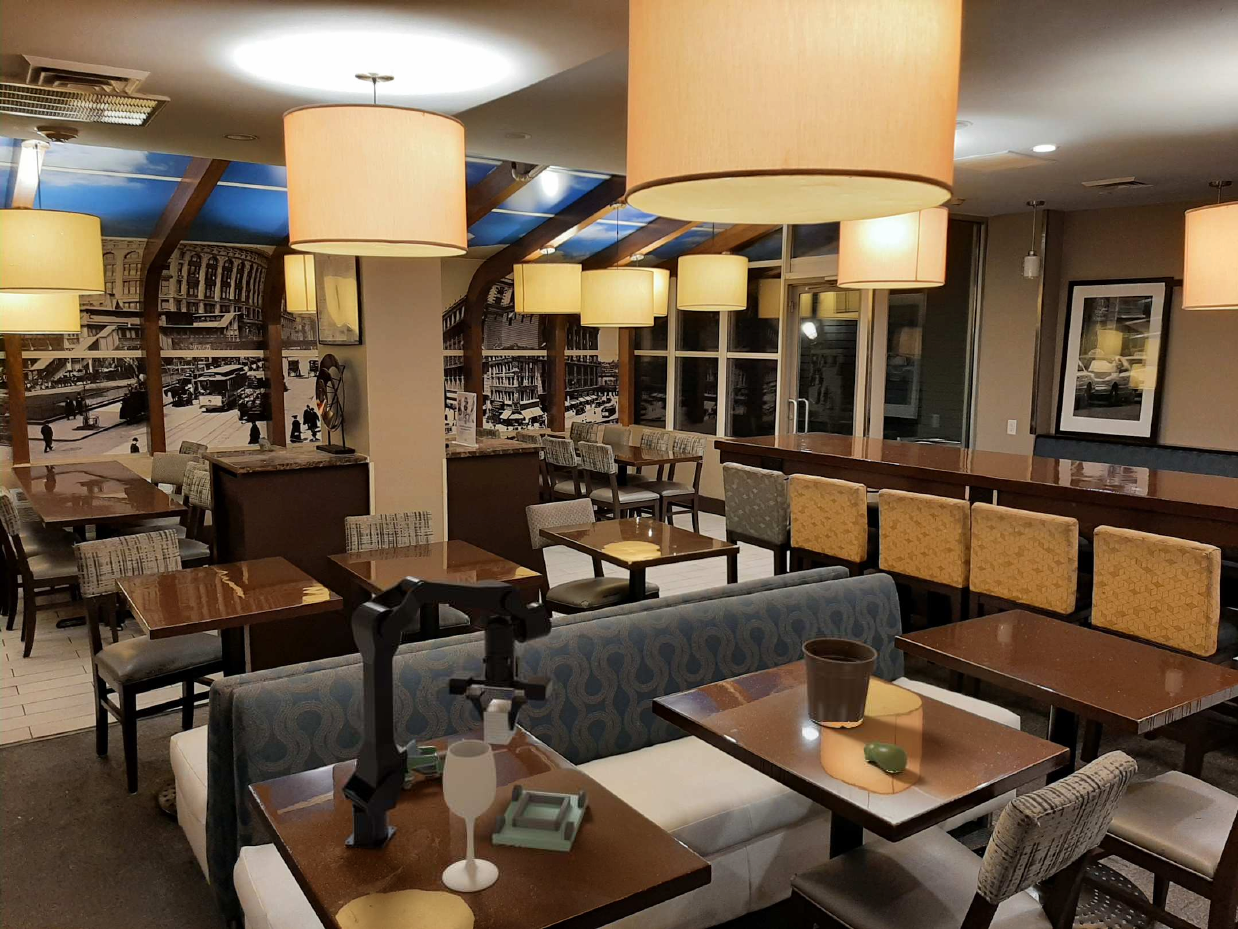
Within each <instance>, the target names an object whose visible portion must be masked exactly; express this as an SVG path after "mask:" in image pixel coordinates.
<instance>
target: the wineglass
mask: <svg viewBox="0 0 1238 929" xmlns="http://www.w3.org/2000/svg"><path fill="white" fill-rule="evenodd" d="M447 750H448V751H447V755H446V759H445V765H444V771H443V777H442V791H443V792H442V793H443V798H444V801H445V804H446V805H447V807H448V808H449V810H450V811H451V812H452V813H453V814H455V815H457V816H458V817H460V818H463V819H464V820H465V825H466V834H467V835H466V844H467V845H466V857H465V858H466V859H463V860H460V861H457V862H454V863H453V864H451V865H449V866H448V867H447V868H446V869H445V870H444V872H443V873H442V878H441V879H442V882H443V883H444V885H445V886H446V887H447V888H449V889H450V890H453V891H457V892H462V893H463V892H465V893H466V892H467V893H468V892H470V893H471V892H475V891H476V892H477V891H481V890H483V889H487V888H488V887H490V886H492V885H493V884H494V883H496V881H497V879H498V878H499V874H500V873H499V869H498V867H497V866H496V864H493V863H492V862H490V861H488V860H485V859H479V858H475V852H474V851H475V850H474V849H475V848H474V846H475V845H474V826H475V821H476V818H478V817H479V816H482V815H483V814H484V813H485V812H486V811H487V810H488V809H489V808H490V807H491V805H492V803H493V802H494V800H495V796H496V791H497V769H496V763H495V756H494V755H493V751H492V750H493V749H492V747H491V745H490V743H486V742H484V740H479V739H464V740H460V741H456V742H454V743H453V744H451V745H449V747H448V749H447Z"/></svg>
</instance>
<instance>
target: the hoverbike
mask: <svg viewBox="0 0 1238 929" xmlns="http://www.w3.org/2000/svg"><path fill="white" fill-rule="evenodd" d="M464 740H465V739H464V738H462V741H464ZM403 748H404V749H406V750H407V753H408V758H407V769H408V771H409V774H406V773H405V776H406V777H405V783H404V785H403V786H402V787H403V788H404V789H405V790H409V789H411V788H412V784H413V783H412V780H413V779H414V778H415V773H417V774H421V775H424V778H425V779H429V778H435V777H436V774H439V775H440V777H441V778H443V771H444V765H445V759H446V755H447V751H448V749H445V750H439V751H437V747H436V746H432V745H431V746H422V744H419V745H418V744H417V743H416V739H413V740H411V741H409V743H407V744H406V745H405V746H404V747H403ZM356 762H357V759H356V760H355V762H354V765H355V766H356Z"/></svg>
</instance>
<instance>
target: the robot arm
mask: <svg viewBox="0 0 1238 929" xmlns="http://www.w3.org/2000/svg"><path fill="white" fill-rule="evenodd" d="M426 603H427V604H440V605H453V606H463V607H474V608H475V607H476V608H479V609H481V610H483V611H484V610H485V611H487V612H491V613H494V614H497V615H494V616H489V615H486V614H482V615H481V616H480V618H478V620H476V621H475V623H474V624H473V627H474V628H476V629H479V630H481V631H482V632H483V638H484V639H483V643H484V644H483V653H484V654H483V657H482V664H484V670H483V671H484V674H483V675H484V677H478V673H477V671H475V670H464V669H458V670H457V671H455V673H454V674H453V675H451V677H450V678H449V679H448V681H447V684H446V687H447V688H446V690H447V692H446V693H447V694H449V695H454V696H455V695H456V696H463V695H465V693H466V695H465V700H467V701H468V700H469V701H470V702H471V703H472V705H473V707H474V709H475V710H476V712H477V713H478V715H479V717H480V719H481V722H482V723H483V725H484V711H485V709H486V708H487V707H488V705H489V704H490V702H489V694H490V693H489V692H490V690H493V691H495V690H496V691H509V692H514V694H515V695H514V696H513V698H512V699H511V700H510V701H511V721H510V725H511V731H514V729H515V726H516V727H517V723H518V720H519V717H520V713H521V711H522V707H523V706H524V705H526V704H528V703H529V701H535V702H543V701H547V699H548V697H549V696H550V694H551V692H553V680H552V679H551V677H550V676H547V675H537V674H531V675H530V676H529V678H528V679H527V680H517V679H516V678H519V677H520V675H521V674H523V667H524V665H523V664H524V657H523V656H518V651H517V649H516V642H517V643H519V644H525V643H528V642H532V641H535V640H539V639H542V638H545V637H546V638H547V637H548V636H549V635H550V634H551V632H552V631H551V630H552V628H553V627H552V626H553V625H552V621H551V618H550V616H549V614H548V612H547V611H546V610H545V604H544V603H541V602H538V601H535V602H532V603H530V604H526V603H525V602H524V601H523V599H522V598H521V592H520V590H519V587H518V586H516V585H513V584H510V583H506V582H503V581H500V580H497V579H490V578H488V579H482V580H481V579H480V580H477V581H475V582H469V583H467V582H459V581H458V582H457V581H447V580H439V579H438V580H437V579H429V578H420V577H416V576H413V575H410V576H409V575H408V576H406V577H404V578H402V579H401V580H400V581H398V582H397V583H396V584H395V585H393V586H391V587H389V588H387V589H385V590H383V591H381V592H379V593H377V594H375V595H374V596H373V597H372V598H371V599H370V600H368V601H367V602H364V603H362V604H361V605H360V606H357V609H356V610H355V611H354V612H352V616H351V619H350V620H351V621H350V622H351V629H352V630H351V631H352V634H353V639H354V642H355V644H356V648H357V649H358V651H359V654H360V656H361V659H362V678H363V680H362V682H363V683H362V684H363V715H364V716H363V719H364V720H363V721H364V722H363V723H364V725H363V726H364V727H363V728H364V739H363V740H364V741H363V743H362V744H361V747H360V749H359V751H358V753H357V756H356V760H357V762H356V761H355V762H356V765H355V770H354V771H353V773H351V775H350V777H349V778H348V779H347V781H346V783H345V784H344V786H342V788H341V792H342V794H343V798H344V799H345V800H346V801H349V802H350V803H352V831H353V833H352V834H350V836H349V837H348V838H347V840H346V841H345V842H344V845H345V846H346V847H353V848H361V849H372V850H382V849H383V848H384V847H385V845H387V843H388V842H389V841H390V839H391V837H393V835H394V834H395V833H396V831H397V827H396V826H390V825H389V811H390V810H394V809H396V807H397V803H398V800H399V796H400V793H401V790H402V787H403V785H404V783H405V777H406V776H405V773H406V774H409V771H410V770H408V769H407V758H408V753H407V750H406V749H404V747H402V746H401V745H399V744H397V743H396V740H395V714H394V712H395V711H394V710H395V707H394V657H395V655H396V653H397V651H398V649H399V647H400V645H401V641H402V635H403V634H402V633H403V630H404V629H406V628H407V627H408V626H409V625H410V624H411V623H412V622H413V621H415V620H414V619H415V618H416V616H417V613H418V612H419V610H420V608H421V607H422V606H423V605H424V604H426ZM396 607H397V608H396ZM394 608H396V609H394Z"/></svg>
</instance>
